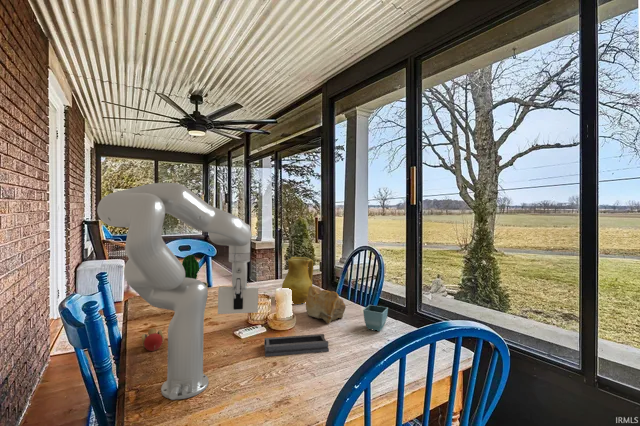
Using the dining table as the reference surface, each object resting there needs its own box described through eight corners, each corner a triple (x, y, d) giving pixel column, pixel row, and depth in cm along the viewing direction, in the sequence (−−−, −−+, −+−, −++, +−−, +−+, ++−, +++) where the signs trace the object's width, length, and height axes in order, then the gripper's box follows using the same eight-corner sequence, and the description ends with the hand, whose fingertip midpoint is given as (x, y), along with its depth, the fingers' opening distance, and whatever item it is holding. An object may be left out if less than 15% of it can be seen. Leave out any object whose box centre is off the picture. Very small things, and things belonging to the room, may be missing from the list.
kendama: (138, 341, 126) (139, 353, 110) (142, 324, 127) (143, 333, 112) (160, 341, 130) (163, 352, 114) (163, 325, 131) (167, 334, 115)
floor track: (328, 351, 116) (328, 343, 116) (265, 356, 111) (265, 348, 111) (322, 340, 126) (322, 332, 126) (264, 344, 121) (264, 336, 121)
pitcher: (278, 297, 184) (281, 254, 183) (309, 297, 189) (312, 255, 189) (283, 307, 168) (287, 260, 167) (317, 306, 173) (320, 261, 172)
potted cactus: (208, 319, 148) (208, 255, 148) (171, 323, 142) (172, 256, 142) (206, 309, 162) (207, 250, 162) (173, 312, 157) (174, 251, 156)
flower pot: (362, 330, 137) (362, 309, 137) (369, 323, 145) (369, 304, 145) (382, 334, 133) (382, 313, 133) (387, 327, 141) (388, 307, 141)
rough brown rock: (356, 325, 146) (358, 292, 147) (325, 327, 138) (327, 293, 139) (330, 312, 166) (332, 283, 167) (302, 313, 158) (304, 283, 159)
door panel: (257, 312, 116) (258, 287, 116) (217, 314, 113) (218, 288, 113) (257, 309, 119) (258, 285, 119) (218, 311, 116) (219, 286, 116)
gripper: (249, 260, 109) (248, 314, 109) (250, 254, 125) (249, 301, 125) (227, 260, 107) (225, 315, 107) (230, 254, 123) (229, 301, 123)
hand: (238, 307), depth 116 cm, fingers closed on door panel, 3 cm apart
